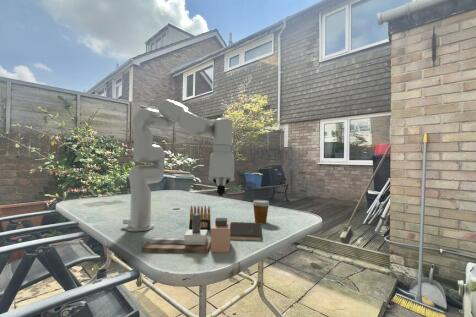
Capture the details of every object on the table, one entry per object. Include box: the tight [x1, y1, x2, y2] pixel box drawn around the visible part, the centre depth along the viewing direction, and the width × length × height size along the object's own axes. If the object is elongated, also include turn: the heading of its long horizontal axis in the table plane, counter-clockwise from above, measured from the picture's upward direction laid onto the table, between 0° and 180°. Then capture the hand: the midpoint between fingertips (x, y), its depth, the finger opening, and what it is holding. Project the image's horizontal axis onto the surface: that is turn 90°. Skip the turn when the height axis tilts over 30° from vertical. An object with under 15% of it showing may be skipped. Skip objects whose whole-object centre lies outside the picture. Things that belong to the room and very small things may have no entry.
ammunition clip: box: [188, 204, 212, 231], centre depth 119 cm, size 11×2×12 cm, turn 88°
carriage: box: [183, 213, 208, 245], centre depth 95 cm, size 8×7×11 cm
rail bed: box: [141, 237, 211, 254], centre depth 95 cm, size 25×12×3 cm, turn 90°
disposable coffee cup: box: [252, 199, 270, 224], centre depth 135 cm, size 10×10×12 cm
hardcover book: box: [230, 221, 262, 241], centre depth 116 cm, size 16×23×2 cm
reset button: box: [214, 217, 228, 226], centre depth 95 cm, size 4×4×5 cm
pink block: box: [210, 221, 231, 253], centre depth 95 cm, size 7×10×9 cm
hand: (220, 195), depth 96 cm, fingers closed
